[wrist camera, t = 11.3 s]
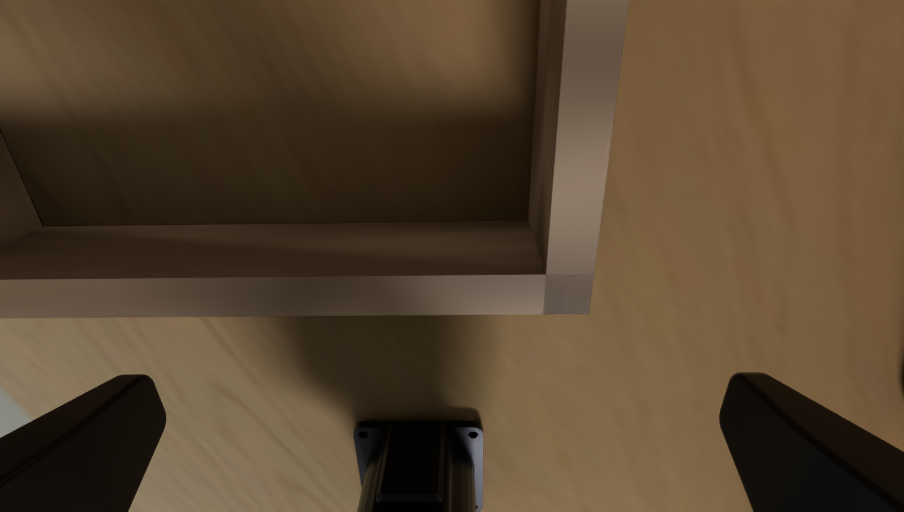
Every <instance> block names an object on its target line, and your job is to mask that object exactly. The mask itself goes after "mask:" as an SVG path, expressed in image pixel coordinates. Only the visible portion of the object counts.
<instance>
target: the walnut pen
mask: <svg viewBox="0 0 904 512" xmlns="http://www.w3.org/2000/svg"><path fill="white" fill-rule="evenodd" d="M628 5H629V0H540V15H539V33H538V52H537V70H536V88H535V107H534V125H533V144H532V162H531V180H530V199H529V217H528V220H520V221H442V222H364V223H286V224H208V225H130V226H53V227H43V226H42V224H41V222H40V219H39V217H38V215H37V213H36V210H35V208H34V206H33V204H32V201H31V199H30V197H29V195H28V192H27V190H26V188H25V186H24V183H23V181H22V179H21V177H20V175H19V172H18V170H17V168H16V166H15V163H14V161H13V159H12V157H11V154H10V152H9V150H8V148H7V145H6V143H5V141H4V139H3V136H2V134H1V132H0V318H103V317H240V316H377V315H514V314H589V308H590V300H591V292H592V285H593V277H594V269H595V261H596V254H597V246H598V238H599V230H600V222H601V215H602V207H603V199H604V191H605V184H606V176H607V168H608V160H609V152H610V145H611V137H612V129H613V121H614V114H615V106H616V98H617V90H618V82H619V75H620V67H621V59H622V51H623V44H624V36H625V28H626V20H627V12H628Z"/></svg>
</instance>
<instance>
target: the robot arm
mask: <svg viewBox="0 0 904 512" xmlns="http://www.w3.org/2000/svg"><path fill="white" fill-rule="evenodd" d="M719 421H720V427H721V430H722V433H723V435H724V438H725V440H726V443H727V445H728V448H729V450H730V453H731V456H732V458H733V461H734V463H735V466H736V468H737V471H738V474H739V476H740V479H741V481H742V484H743V486H744V489H745V492H746V494H747V497H748V499H749V502H750V504H751V507H752V510H753V512H904V452H903V451H901V450H900V449H898V448H896V447H894V446H892V445H891V444H889V443H887V442H885V441H884V440H882V439H880V438H878V437H877V436H875V435H873V434H871V433H869V432H868V431H866V430H864V429H862V428H861V427H859V426H857V425H855V424H854V423H852V422H850V421H848V420H847V419H845V418H843V417H841V416H839V415H838V414H836V413H834V412H832V411H831V410H829V409H827V408H825V407H824V406H822V405H820V404H818V403H817V402H815V401H813V400H811V399H809V398H808V397H806V396H804V395H802V394H801V393H799V392H797V391H795V390H794V389H792V388H790V387H788V386H787V385H785V384H783V383H781V382H779V381H778V380H776V379H774V378H772V377H771V376H769V375H767V374H764V373H759V372H739V373H736V374H734V375H733V376H732V377H731V378H730V381H729V384H728V387H727V390H726V393H725V396H724V400H723V403H722V406H721V409H720V414H719ZM165 424H166V412H165V409H164V407H163V404H162V402H161V399H160V397H159V394H158V391H157V389H156V386H155V384H154V382H153V380H152V379H151V378H150V377H149V376H147V375H143V374H135V375H120V376H117V377H115V378H113V379H111V380H109V381H107V382H105V383H103V384H101V385H99V386H98V387H96V388H94V389H92V390H90V391H88V392H86V393H84V394H82V395H81V396H79V397H77V398H75V399H73V400H71V401H69V402H67V403H65V404H63V405H62V406H60V407H58V408H56V409H54V410H52V411H50V412H48V413H46V414H45V415H43V416H41V417H39V418H37V419H35V420H33V421H31V422H29V423H28V424H26V425H24V426H22V427H20V428H18V429H16V430H14V431H13V432H11V433H9V434H7V435H5V436H3V437H1V438H0V512H128V510H129V508H130V506H131V504H132V501H133V499H134V497H135V495H136V492H137V490H138V488H139V486H140V483H141V481H142V479H143V476H144V474H145V472H146V470H147V467H148V465H149V463H150V461H151V458H152V456H153V454H154V451H155V449H156V447H157V445H158V442H159V440H160V438H161V436H162V433H163V431H164V428H165ZM362 431H365V432H362ZM471 431H475V432H471ZM354 441H355V447H356V453H357V460H358V466H359V472H360V478H361V485H362V492H361V496H360V501H359V506H358V510H357V512H479V511H481V510H482V500H483V427H482V425H481V424H480V423H478V422H474V421H364V422H359V423H357V425H356V426H355V430H354Z"/></svg>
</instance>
